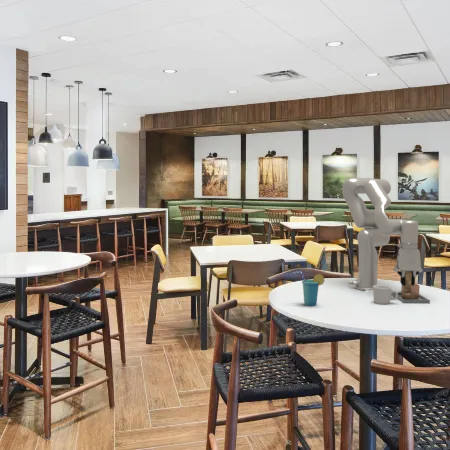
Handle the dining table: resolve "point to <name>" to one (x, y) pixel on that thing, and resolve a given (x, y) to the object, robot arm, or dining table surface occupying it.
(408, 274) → the oak dowel
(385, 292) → the cup
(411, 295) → the walnut dowel
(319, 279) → the cup
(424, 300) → the tray
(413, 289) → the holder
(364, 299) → the dining table surface
